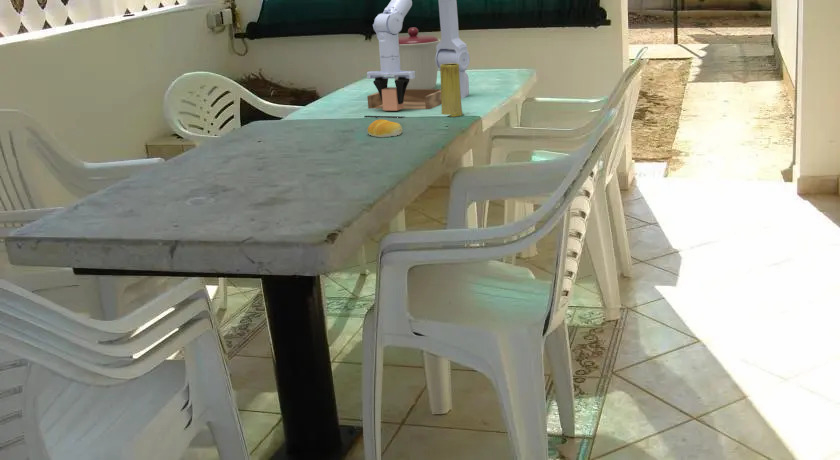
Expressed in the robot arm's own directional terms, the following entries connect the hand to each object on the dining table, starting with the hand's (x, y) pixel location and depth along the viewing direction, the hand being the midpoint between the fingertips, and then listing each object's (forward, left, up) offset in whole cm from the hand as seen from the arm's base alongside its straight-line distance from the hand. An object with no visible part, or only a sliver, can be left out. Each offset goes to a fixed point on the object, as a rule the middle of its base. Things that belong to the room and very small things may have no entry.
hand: (392, 103), depth 257 cm
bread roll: (+30, +12, -3) cm, 32 cm away
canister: (-43, -12, -3) cm, 45 cm away
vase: (+2, +19, -3) cm, 19 cm away
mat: (+2, 0, -3) cm, 4 cm away
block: (0, 0, -2) cm, 2 cm away
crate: (-10, 0, -3) cm, 11 cm away
